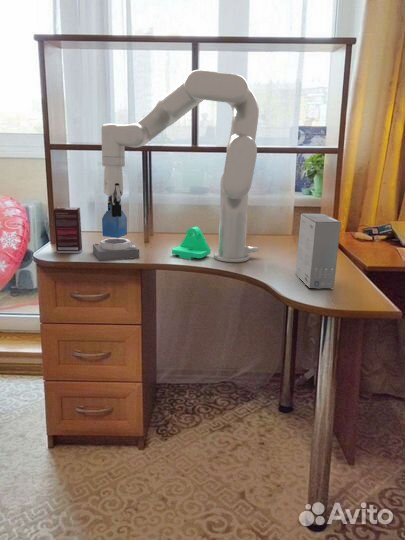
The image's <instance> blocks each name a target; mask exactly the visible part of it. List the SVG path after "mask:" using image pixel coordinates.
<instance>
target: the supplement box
mask: <svg viewBox="0 0 405 540" xmlns="http://www.w3.org/2000/svg"><path fill="white" fill-rule="evenodd" d="M52 210H53V223H54V236H55V252H56V254H81V252H82V251H83V242H82V241H83V240H82V222H81V221H82V220H81V208H80V207H61V206H60V207H55V208H53V209H52Z"/></svg>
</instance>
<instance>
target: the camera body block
mask: <svg viewBox="0 0 405 540" xmlns="http://www.w3.org/2000/svg"><path fill="white" fill-rule="evenodd" d="M99 242H100V243H98V242H97V243H93V244H92V252H93V254H94V255H95V257H96V258H97V260H98V261H109V260H111V261H112V260H123V259H138V258H140V248H139V247H138V246H136V244H134V243H132V242H131V240H130V239H128V238H122V237H119V238H115V237H107V238H105V239H102V240H100V241H99Z"/></svg>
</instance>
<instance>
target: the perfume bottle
mask: <svg viewBox="0 0 405 540" xmlns="http://www.w3.org/2000/svg"><path fill="white" fill-rule="evenodd" d="M112 205H113V204H112V201H110V205H109V208H110V210H109V211H108V210H106V211H105V212H104V215H103V216H102V218H101V224H102V225H101V227H102V229H101V230H102V237H107V238H122V237H123V236H127V235H128V224H127V223H128V220H127V219H128V217H127V215H126V214H125V213H124V210H122V209H121V217H118V216H117V217H112Z"/></svg>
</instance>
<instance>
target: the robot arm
mask: <svg viewBox="0 0 405 540" xmlns="http://www.w3.org/2000/svg"><path fill="white" fill-rule="evenodd" d="M203 101H212V102H219V103H226V104H228V105H229V106H230V107H231V110H232V119H231V127H230V132H229V133H230V134H229V138H228V142H227V145H226V156H225V163H224V167H223V168H224V169H223V173H222V174H221V178H220V185H219V188H220V194H219V195H220V197H219V199H220V200H219V201H220V202H219V204H220V205H219V222H218V223H219V224H218V225H219V226H218V250H217V252H214V254H213V258H214V259H215V260H217V261H221V262H226V263H242V262H243V263H244V262H247V261H249V260H250V255H249V254H251V253H258V251H259V248H258V246H251V245H250V246H248V245H247V244H246V243H247V241H246V240H247V225H248V222H247V221H248V209H249V192H250V190H251V188H252V183H253V178H254V171H255V166H256V161H257V154H258V146H257V143H256V136H257V131H258V124H259V123H258V122H259V116H260V115H259V113H260V111H259V104H258V101H257V98H256V96H255V94H254V92H253V91H252V90H251V88H249V84H248V82H247V80H246V79H245V78H244V77H243V76H242V75H239V74H236V73H227V72H222V71H221V72H218V71H213V70H212V71H211V70H202V69H195V70H192V71H190V72H189V73H188V74H187V76H186V77H185V79H184V80H183V81H182V82H180V83H179V84H178V85H177V86H175V87H174V88H173V89H172V90H170V91H169V92H168V93H167V94H165V95H164V96H163V97H161V99H160V100H159V101H157V104H156V105H155V106H154V107H153V108H152V110H151V111H150V112H148V113H147V114H146V115H145V116H143V117H142V118H141V119H140V120H138V121H137V122H136V123H130V124H120V123H104V124H102V126H101V162H102V164H101V166H102V167H103V168H104V169H103V171H104V172H103V194H104V195H106V196H107V211H109V210H110V208H109V205H110V201H112V204H113V205H112V217H117V216H118V217H121V210H122V200H121V199H122V196H123V194H124V177H123V173H124V172H123V168H124V167H126V166H125V165H126V161H125V159H126V157H125V154H126V152H125V148H126V147H129V148H140V147H143V146H146V144H148V143H149V142H150V141H152V140H154V139H155V138H156V137H157V136H159V135H160V134H161V133H163V131H165V130H166V129H167V128H169V127H171V126H172V125H173V124H174V123H176V122H178V121H179V120H180V119H181V118H182V117H183V116H185V115H187V113H189V112H190V111H191V110H192V109H194V108H195V107H197V106H198V105H199V104H201V103H202V102H203Z"/></svg>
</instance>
